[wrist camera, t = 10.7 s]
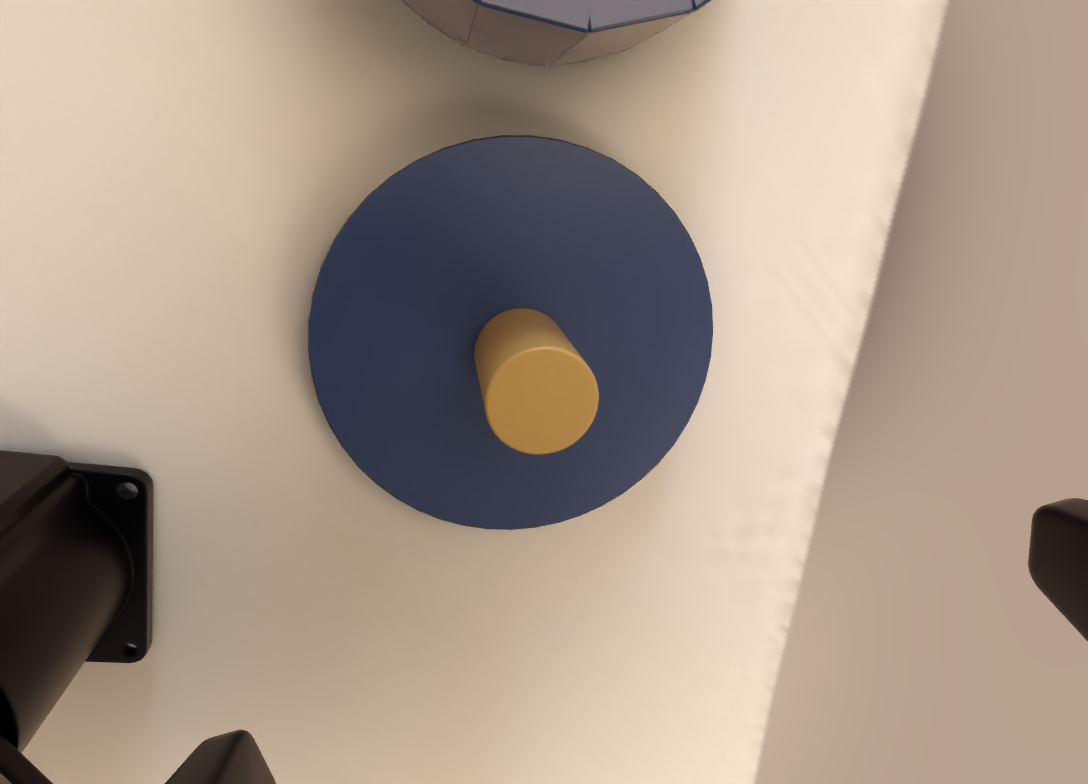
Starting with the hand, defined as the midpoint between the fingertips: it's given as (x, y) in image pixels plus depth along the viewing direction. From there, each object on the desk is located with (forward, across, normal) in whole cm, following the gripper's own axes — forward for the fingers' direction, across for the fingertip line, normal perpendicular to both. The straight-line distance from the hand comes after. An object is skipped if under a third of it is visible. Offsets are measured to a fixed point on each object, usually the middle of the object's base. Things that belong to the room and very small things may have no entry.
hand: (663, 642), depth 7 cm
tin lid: (+12, 0, 0) cm, 12 cm away
